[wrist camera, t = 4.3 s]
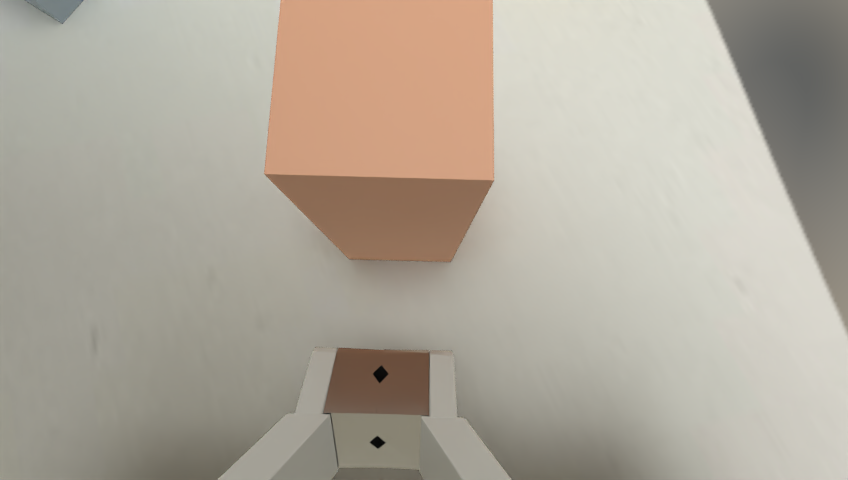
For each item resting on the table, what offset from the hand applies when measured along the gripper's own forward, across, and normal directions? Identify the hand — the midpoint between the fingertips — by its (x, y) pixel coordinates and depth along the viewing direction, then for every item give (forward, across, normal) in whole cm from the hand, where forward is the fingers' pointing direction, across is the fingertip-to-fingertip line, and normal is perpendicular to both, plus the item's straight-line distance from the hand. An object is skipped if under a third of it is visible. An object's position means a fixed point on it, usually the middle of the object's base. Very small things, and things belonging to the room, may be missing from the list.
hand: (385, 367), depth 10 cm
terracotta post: (+9, 0, +1) cm, 9 cm away
